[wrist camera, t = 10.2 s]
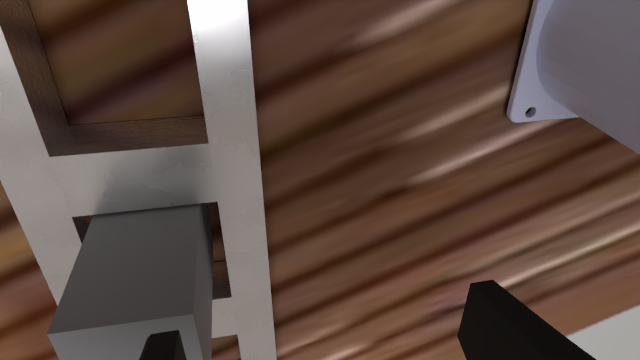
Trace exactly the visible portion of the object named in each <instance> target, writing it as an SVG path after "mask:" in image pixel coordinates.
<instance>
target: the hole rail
mask: <svg viewBox="0 0 640 360" xmlns="http://www.w3.org/2000/svg"><path fill="white" fill-rule="evenodd" d="M187 2H188V8H189V15H190V22H191V28H192V35H193V42H194V48H195V55H196V62H197V68H198V75H199V82H200V88H201V95H202V102H203V108H204V116H191V117H178V118H165V119H152V120H138V121H125V122H112V123H99V124H86V125H73V126H69V124H68V121H67V118H66V115H65V112H64V109H63V106H62V103H61V100H60V97H59V94H58V91H57V88H56V85H55V82H54V79H53V76H52V73H51V70H50V67H49V64H48V61H47V58H46V55H45V52H44V49H43V46H42V43H41V40H40V37H39V34H38V31H37V28H36V25H35V22H34V19H33V16H32V13H31V10H30V7H29V4H28V1H27V0H0V180H1V182H2V185H3V187H4V189H5V191H6V193H7V196H8V198H9V200H10V202H11V204H12V207H13V209H14V211H15V213H16V215H17V218H18V220H19V222H20V224H21V226H22V229H23V231H24V233H25V235H26V237H27V240H28V242H29V244H30V246H31V248H32V251H33V253H34V255H35V257H36V259H37V261H38V264H39V266H40V268H41V270H42V272H43V275H44V277H45V279H46V281H47V283H48V286H49V288H50V290H51V292H52V294H53V297H54V299H55V301H56V303H57V305H59V302H60V300H61V297H62V295H63V292H64V289H65V287H66V284H67V282H68V279H69V276H70V274H71V271H72V269H73V266H74V263H75V261H76V258H77V256H78V253H79V251H80V248H81V245H82V243H83V240H84V238H85V235H86V232H87V230H88V227H89V225H90V222H91V220H92V217H93V215H96V214H105V213H114V212H124V211H133V210H143V209H152V208H162V207H171V206H181V205H190V204H200V203H209V202H218V208H219V215H220V222H221V228H222V235H223V241H224V248H225V255H226V261H221V262H213V290H212V338H216V337H222V336H229V335H236V334H237V335H238V341H239V348H240V355H241V360H277V359H276V347H275V335H274V322H273V310H272V298H271V286H270V274H269V262H268V250H267V238H266V225H265V213H264V201H263V189H262V177H261V165H260V153H259V141H258V128H257V116H256V104H255V92H254V80H253V68H252V56H251V43H250V31H249V19H248V7H247V0H187Z"/></svg>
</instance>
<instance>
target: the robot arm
mask: <svg viewBox="0 0 640 360" xmlns="http://www.w3.org/2000/svg"><path fill="white" fill-rule="evenodd" d="M530 107H531V110H530V111H529V112H528V113H527V114H525V113H526V111H527V109H529V108H530ZM507 117H508V118H509V119H510V120H511V121H513V122H516V123H520V122H531V121H543V120H554V119H565V118H577V117H581V118H582V119H584V120H586V121H587V122H589V123H590V124H592V125H593V126H595V127H597V128H598V129H600V130H601V131H603V132H604V133H606V134H608V135H609V136H611V137H612V138H614V139H616V140H617V141H619V142H620V143H622V144H623V145H625V146H627V147H628V148H630V149H631V150H633V151H634V152H636V153H638V154H639V155H640V0H534V1H533V5H532V9H531V13H530V17H529V21H528V25H527V30H526V34H525V38H524V42H523V46H522V50H521V54H520V58H519V62H518V67H517V71H516V75H515V79H514V83H513V87H512V91H511V95H510V100H509V104H508V108H507ZM458 339H459V341H460V344H461V347H462V349H463V352H464V354H465V357H466V359H467V360H596V359H595V358H593V357H592V356H591V355H589V354H588V353H586V352H585V351H583V350H582V349H581V348H579V347H578V346H577V345H576V344H574V343H573V342H571V341H570V340H569V339H568V338H566V337H565V336H564V335H562V334H561V333H560V332H558V331H557V330H556V329H554V328H553V327H552V326H551V325H549V324H548V323H547V322H545V321H544V320H543V319H542V318H540V317H539V316H538V315H537V314H535V313H534V312H533V311H532V310H530V309H529V308H528V307H526V306H525V305H524V304H523V303H521V302H520V301H519V300H518V299H516V298H515V297H514V296H513V295H511V294H510V293H509V292H508V291H506V290H505V289H504V288H503V287H501V286H500V285H499V284H497V283H496V282H495V281H493V280H488V281H482V282H476V283H471V284H470V288H469V292H468V296H467V300H466V304H465V308H464V312H463V316H462V320H461V324H460V328H459V332H458ZM139 360H187V359H186V356H185V352H184V348H183V344H182V340H181V336H180V332H179V330H174V331H167V332H161V333H155V334H151V335H150V336H149V337H148V338H147V340H146V343H145V345H144V348H143V351H142V353H141V356H140V358H139Z"/></svg>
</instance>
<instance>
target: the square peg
mask: <svg viewBox="0 0 640 360" xmlns="http://www.w3.org/2000/svg"><path fill="white" fill-rule="evenodd" d="M212 290H213V237H212V231H211V225H210V219H209V213H208V207H207V203H200V204H190V205H181V206H171V207H162V208H152V209H143V210H133V211H124V212H114V213H105V214H96V215H93V217H92V220H91V222H90V225H89V227H88V230H87V232H86V235H85V238H84V240H83V243H82V245H81V248H80V251H79V253H78V256H77V258H76V261H75V263H74V266H73V269H72V271H71V274H70V276H69V279H68V282H67V284H66V287H65V289H64V292H63V295H62V297H61V300H60V302H59V305H58V307H57V310H56V313H55V315H54V318H53V320H52V323H51V326H50V328H49V331H48V333H47V335H48V337H49V339H50V341H51V343H52V345H53V347H54V349H55V351H56V354H57V356H58V358H59V360H139V358H140V356H141V353H142V351H143V348H144V345H145V343H146V340H147V338H148V337H149V336H150V335H151V334H155V333H161V332H167V331H174V330H179V332H180V336H181V340H182V344H183V348H184V352H185V356H186V359H187V360H211V347H212Z"/></svg>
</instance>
